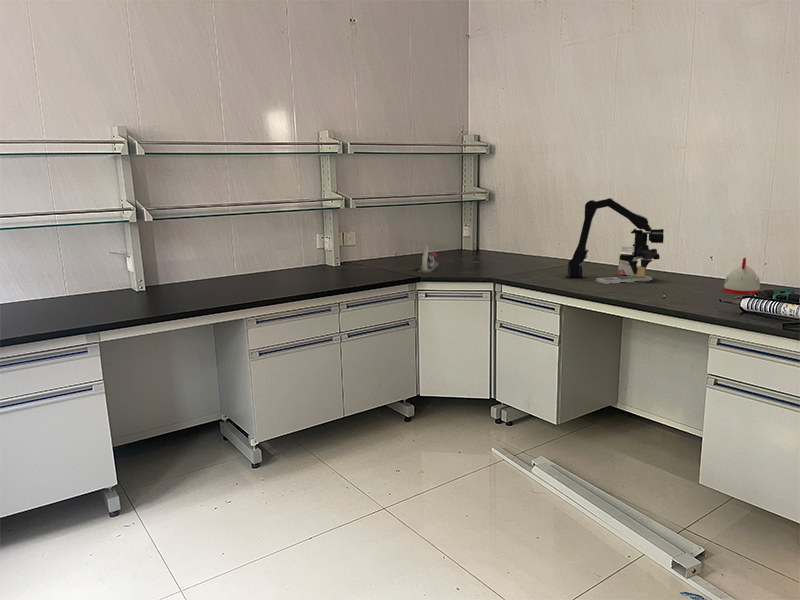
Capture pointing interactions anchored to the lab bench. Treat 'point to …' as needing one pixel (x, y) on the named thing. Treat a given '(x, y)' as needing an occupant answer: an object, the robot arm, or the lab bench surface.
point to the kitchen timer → (742, 280)
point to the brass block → (639, 272)
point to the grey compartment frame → (619, 279)
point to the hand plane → (428, 261)
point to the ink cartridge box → (625, 262)
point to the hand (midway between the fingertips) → (638, 273)
